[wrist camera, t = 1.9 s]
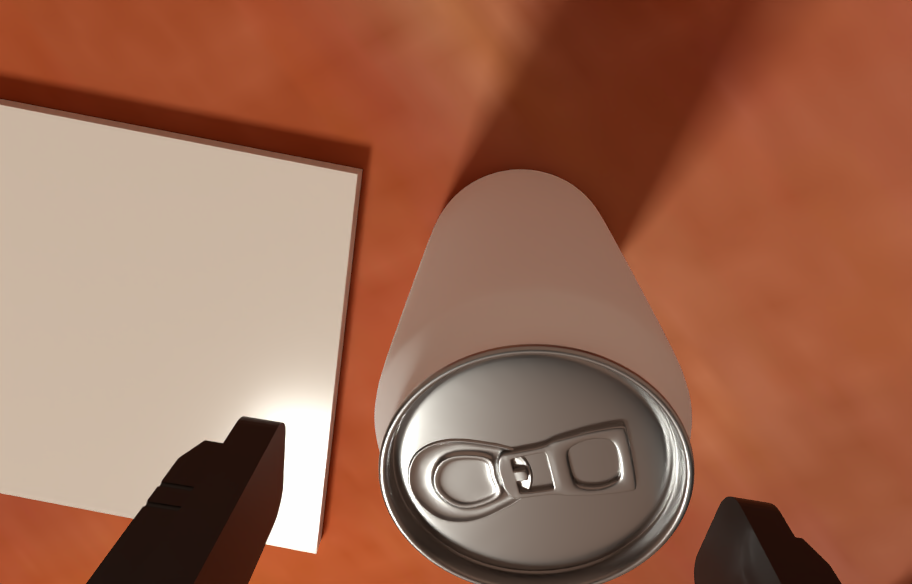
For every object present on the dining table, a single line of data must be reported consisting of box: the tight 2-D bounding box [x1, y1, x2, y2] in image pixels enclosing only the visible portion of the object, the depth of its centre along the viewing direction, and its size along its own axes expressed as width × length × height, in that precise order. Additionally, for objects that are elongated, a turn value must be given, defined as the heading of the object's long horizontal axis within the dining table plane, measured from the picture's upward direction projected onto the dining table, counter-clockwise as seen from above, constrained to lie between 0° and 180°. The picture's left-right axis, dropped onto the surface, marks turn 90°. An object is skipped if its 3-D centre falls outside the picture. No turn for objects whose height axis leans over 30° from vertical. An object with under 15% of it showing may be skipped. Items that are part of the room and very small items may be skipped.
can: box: [375, 169, 694, 584], centre depth 16 cm, size 6×6×12 cm
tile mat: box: [0, 99, 363, 554], centre depth 24 cm, size 18×18×1 cm
